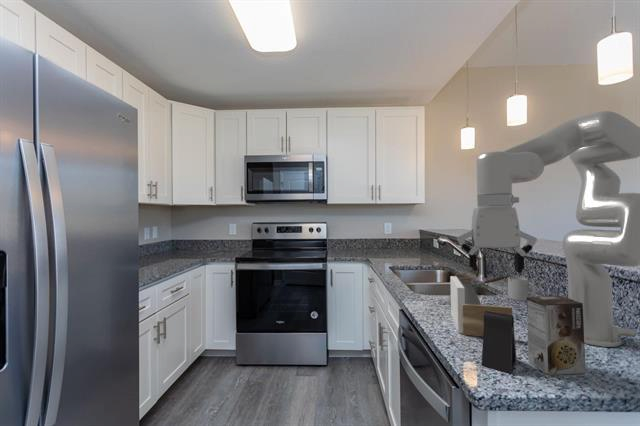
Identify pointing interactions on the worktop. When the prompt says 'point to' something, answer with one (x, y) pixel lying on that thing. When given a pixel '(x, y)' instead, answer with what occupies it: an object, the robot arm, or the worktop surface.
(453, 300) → the wall frame
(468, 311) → the door
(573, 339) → the coffee box
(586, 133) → the robot arm
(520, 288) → the cup
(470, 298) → the coffee pot
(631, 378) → the worktop surface
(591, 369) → the worktop surface
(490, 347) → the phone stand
